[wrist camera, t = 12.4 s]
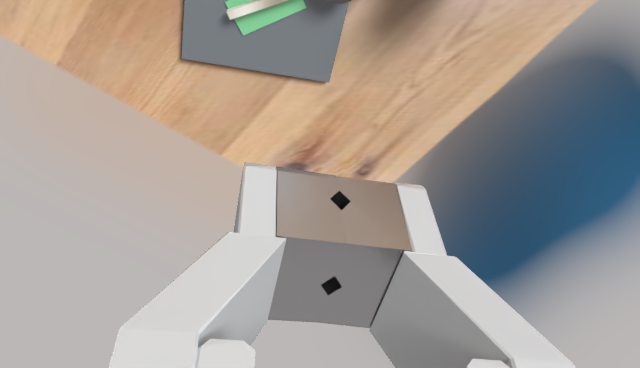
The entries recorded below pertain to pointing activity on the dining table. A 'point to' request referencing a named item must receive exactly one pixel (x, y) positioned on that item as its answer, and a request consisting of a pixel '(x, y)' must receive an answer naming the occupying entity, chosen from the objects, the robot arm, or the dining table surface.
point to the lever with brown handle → (261, 6)
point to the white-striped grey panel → (265, 36)
